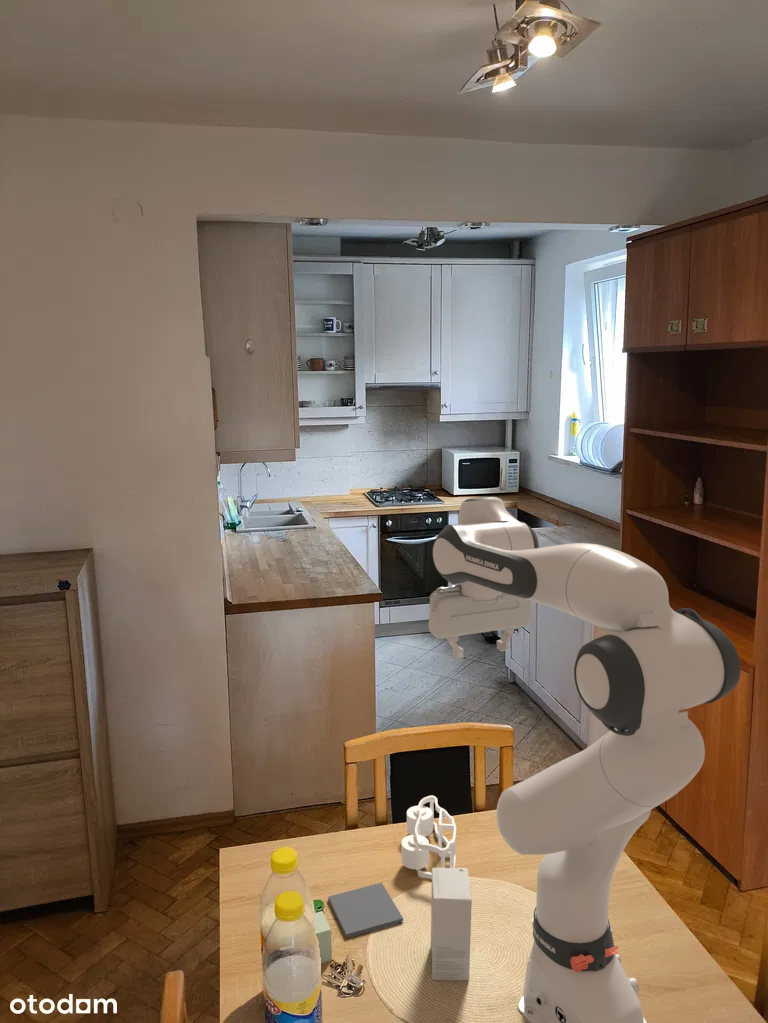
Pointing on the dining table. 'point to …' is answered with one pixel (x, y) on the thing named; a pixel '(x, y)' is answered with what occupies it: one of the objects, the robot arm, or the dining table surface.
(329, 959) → the sage block
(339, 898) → the slate mat
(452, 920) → the skincare box
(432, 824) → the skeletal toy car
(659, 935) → the dining table surface
